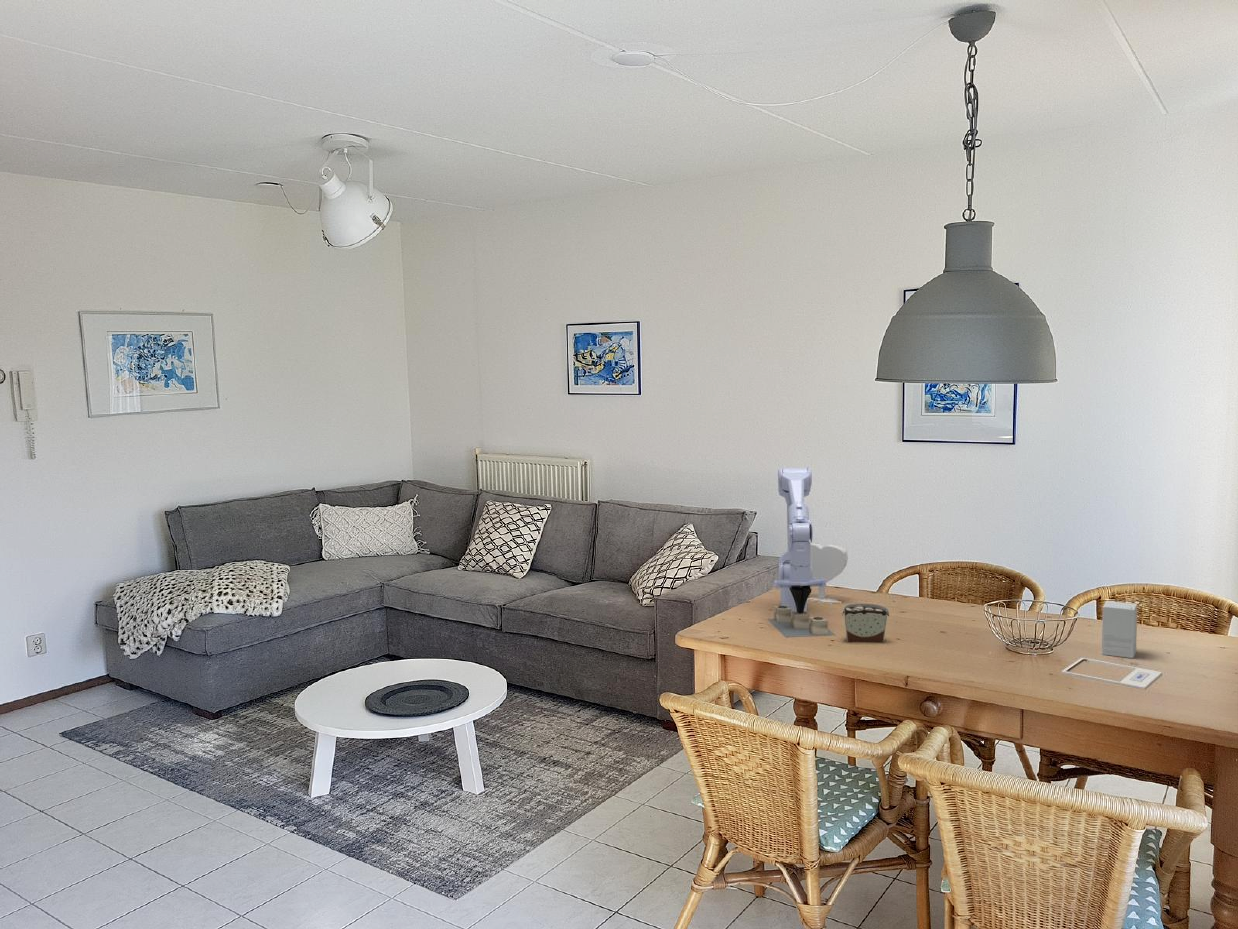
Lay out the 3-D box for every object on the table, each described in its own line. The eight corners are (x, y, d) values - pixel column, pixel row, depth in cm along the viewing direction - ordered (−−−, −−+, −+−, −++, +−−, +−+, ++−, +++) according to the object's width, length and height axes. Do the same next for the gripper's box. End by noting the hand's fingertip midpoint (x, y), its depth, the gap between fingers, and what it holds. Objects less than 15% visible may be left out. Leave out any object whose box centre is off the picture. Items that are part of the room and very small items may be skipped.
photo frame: (1144, 686, 216) (1061, 670, 228) (1144, 691, 216) (1061, 675, 228) (1162, 671, 226) (1081, 656, 238) (1161, 676, 226) (1081, 661, 238)
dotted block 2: (808, 631, 265) (809, 616, 264) (822, 630, 265) (822, 616, 265) (813, 635, 261) (813, 620, 260) (827, 634, 261) (827, 619, 261)
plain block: (791, 625, 271) (791, 611, 271) (804, 624, 272) (804, 610, 271) (795, 628, 267) (795, 615, 267) (809, 628, 268) (809, 614, 268)
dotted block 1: (774, 619, 278) (774, 605, 278) (787, 618, 278) (787, 604, 278) (777, 622, 274) (777, 608, 274) (791, 622, 274) (791, 608, 274)
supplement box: (1136, 651, 244) (1138, 603, 243) (1133, 659, 238) (1135, 609, 237) (1104, 647, 248) (1106, 599, 247) (1100, 654, 242) (1102, 605, 241)
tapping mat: (766, 621, 279) (766, 618, 279) (812, 619, 280) (812, 616, 280) (786, 640, 259) (786, 637, 259) (835, 638, 261) (835, 635, 261)
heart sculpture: (848, 601, 302) (848, 545, 300) (843, 604, 297) (844, 547, 296) (800, 596, 309) (800, 541, 307) (795, 599, 305) (795, 544, 303)
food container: (885, 639, 259) (885, 603, 258) (889, 645, 253) (889, 608, 252) (838, 638, 260) (839, 602, 259) (841, 645, 254) (842, 608, 253)
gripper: (779, 568, 263) (779, 616, 264) (829, 566, 265) (829, 614, 266) (772, 563, 270) (772, 610, 271) (821, 561, 272) (821, 608, 273)
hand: (800, 612), depth 269 cm, fingers closed
